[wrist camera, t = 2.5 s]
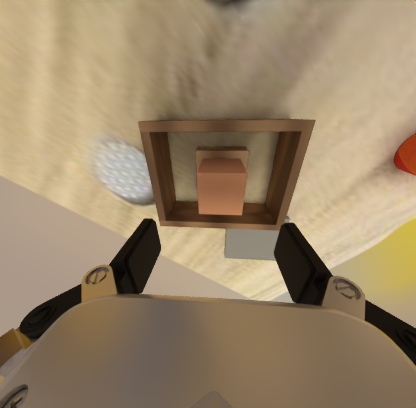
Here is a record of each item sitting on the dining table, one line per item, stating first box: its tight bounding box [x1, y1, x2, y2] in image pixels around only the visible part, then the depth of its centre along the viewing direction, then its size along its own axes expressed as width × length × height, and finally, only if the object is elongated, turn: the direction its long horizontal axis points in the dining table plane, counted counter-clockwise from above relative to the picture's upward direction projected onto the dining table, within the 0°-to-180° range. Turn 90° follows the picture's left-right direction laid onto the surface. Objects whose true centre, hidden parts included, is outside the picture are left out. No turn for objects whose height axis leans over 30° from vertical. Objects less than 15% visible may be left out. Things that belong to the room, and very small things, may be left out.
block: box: [197, 158, 247, 215], centre depth 19 cm, size 5×5×6 cm
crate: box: [138, 119, 315, 231], centre depth 21 cm, size 18×14×6 cm
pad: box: [225, 216, 290, 261], centre depth 30 cm, size 11×11×1 cm
